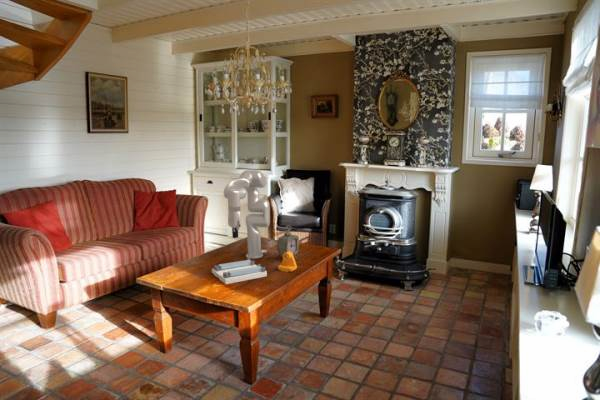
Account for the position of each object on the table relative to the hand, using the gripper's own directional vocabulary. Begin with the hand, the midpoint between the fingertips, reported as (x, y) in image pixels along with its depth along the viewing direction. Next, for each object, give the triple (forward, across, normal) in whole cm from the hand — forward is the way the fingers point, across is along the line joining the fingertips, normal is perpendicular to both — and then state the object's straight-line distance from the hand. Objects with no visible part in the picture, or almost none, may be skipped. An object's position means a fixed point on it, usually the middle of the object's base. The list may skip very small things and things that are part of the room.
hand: (235, 237), depth 286 cm
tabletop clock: (+27, -14, +46) cm, 55 cm away
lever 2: (+22, +6, +3) cm, 23 cm away
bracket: (+26, +6, +33) cm, 43 cm away
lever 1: (+22, -10, +4) cm, 25 cm away
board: (+26, -2, +2) cm, 26 cm away
